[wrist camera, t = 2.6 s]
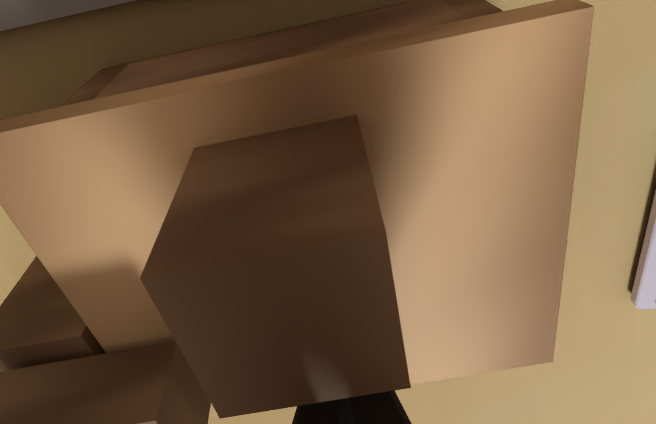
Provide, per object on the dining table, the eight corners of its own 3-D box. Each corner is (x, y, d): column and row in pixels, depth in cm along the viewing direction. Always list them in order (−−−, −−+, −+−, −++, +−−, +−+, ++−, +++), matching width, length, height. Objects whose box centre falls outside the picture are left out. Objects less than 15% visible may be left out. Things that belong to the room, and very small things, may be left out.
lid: (569, -4, 8) (776, 78, 5) (540, 338, 13) (628, 502, 10) (-19, 123, 9) (-229, 276, 5) (164, 399, 14) (118, 573, 10)
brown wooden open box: (466, -11, 12) (559, 44, 8) (473, 231, 17) (534, 352, 12) (-28, 97, 13) (-191, 200, 9) (103, 299, 18) (38, 433, 13)
